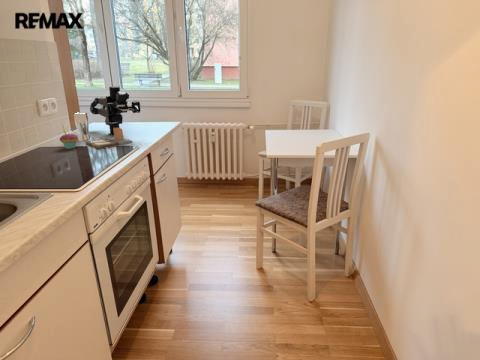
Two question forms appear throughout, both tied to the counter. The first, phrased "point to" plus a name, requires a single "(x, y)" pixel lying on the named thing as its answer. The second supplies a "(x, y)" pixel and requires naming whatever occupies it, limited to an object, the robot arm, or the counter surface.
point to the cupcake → (69, 140)
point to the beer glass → (82, 125)
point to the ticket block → (102, 143)
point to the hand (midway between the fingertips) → (130, 110)
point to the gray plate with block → (119, 137)
